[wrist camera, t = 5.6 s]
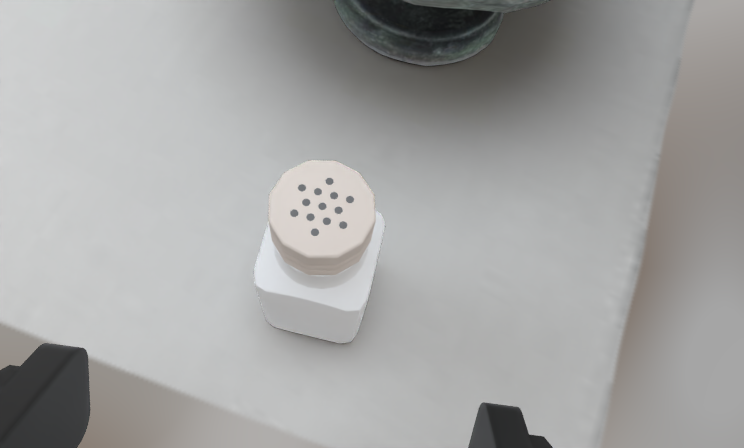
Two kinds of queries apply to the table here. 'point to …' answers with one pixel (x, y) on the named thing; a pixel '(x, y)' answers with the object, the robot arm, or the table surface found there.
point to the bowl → (427, 26)
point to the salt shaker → (319, 251)
